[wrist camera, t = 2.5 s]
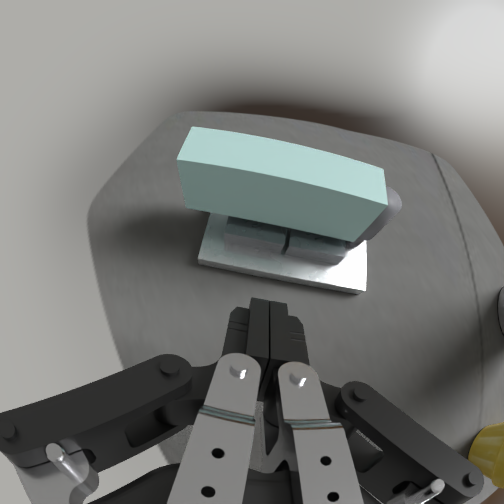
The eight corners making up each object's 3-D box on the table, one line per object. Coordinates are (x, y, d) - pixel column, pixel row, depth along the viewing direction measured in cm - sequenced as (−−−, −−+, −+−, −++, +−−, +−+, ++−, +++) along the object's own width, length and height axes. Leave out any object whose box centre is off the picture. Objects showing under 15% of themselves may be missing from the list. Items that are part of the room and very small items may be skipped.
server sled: (359, 211, 30) (373, 193, 26) (358, 294, 26) (376, 283, 22) (222, 180, 30) (222, 158, 26) (199, 264, 26) (195, 248, 22)
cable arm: (374, 215, 25) (406, 177, 19) (375, 247, 23) (412, 213, 18) (197, 176, 24) (192, 126, 19) (186, 207, 23) (176, 159, 17)
